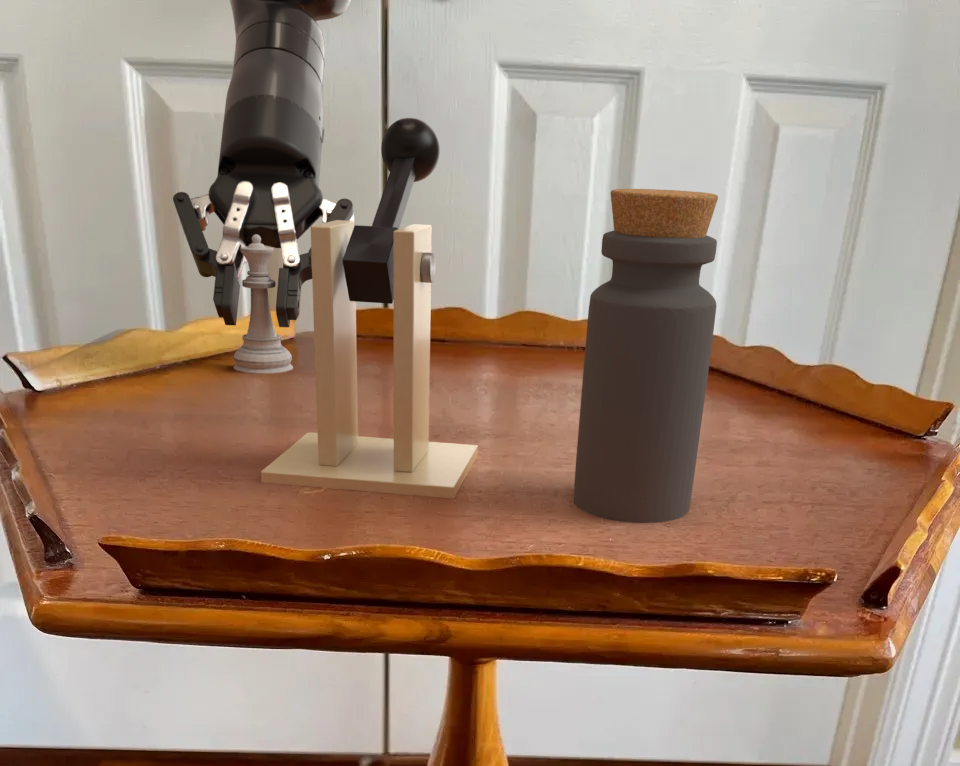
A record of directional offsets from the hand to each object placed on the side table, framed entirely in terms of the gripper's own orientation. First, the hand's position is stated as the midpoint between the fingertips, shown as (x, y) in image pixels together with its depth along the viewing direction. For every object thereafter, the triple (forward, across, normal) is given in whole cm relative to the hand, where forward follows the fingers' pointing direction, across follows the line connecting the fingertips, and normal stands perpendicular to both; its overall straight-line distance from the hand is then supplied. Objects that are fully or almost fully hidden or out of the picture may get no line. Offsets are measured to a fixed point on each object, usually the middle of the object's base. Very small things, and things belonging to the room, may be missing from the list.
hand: (255, 318), depth 74 cm
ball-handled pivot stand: (+19, +10, -13) cm, 25 cm away
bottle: (+23, +23, -16) cm, 36 cm away
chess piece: (+2, 0, +5) cm, 5 cm away
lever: (+7, +11, -18) cm, 22 cm away
